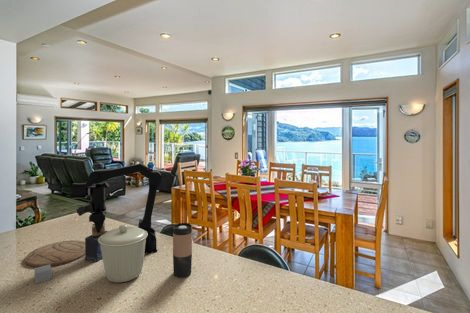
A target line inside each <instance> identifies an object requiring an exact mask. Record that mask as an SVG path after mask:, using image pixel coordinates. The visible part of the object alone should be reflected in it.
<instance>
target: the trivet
mask: <svg viewBox="0 0 470 313" xmlns="http://www.w3.org/2000/svg"><path fill="white" fill-rule="evenodd" d="M84 257H85V241H84V240H77V239H75V240H74V239H73V240H63V241H58V242H52V243H48V244H46V245H43V246H40V247H38V248H35V249H33V250H31V251H30V252H28V253H27V255H26V256H25V258H24V259H25V264H26V266H29V267H31V268H38V267H42V266H46V265H49V264H50V266H51V268H53V267H59V266H63V265H67V264H70V263H72V262H75V261H78V260H80V259H81V258H84Z"/></svg>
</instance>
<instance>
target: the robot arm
mask: <svg viewBox="0 0 470 313" xmlns="http://www.w3.org/2000/svg"><path fill="white" fill-rule="evenodd" d="M137 173H139V174H141V175H142V176H143V177H145V178H147V179H148V192H147V197H146V198H147V199H146V203H145V208H144V213H143V216H142V218H139V220H138V225H137V228H141V229H143V230H145V231H147V233H148V236H147V237H146V243H145V253H144V255H145V254H150V253H156V252H158V249H157V236H156V235H157V234H156V230H155V229H154V228H153V227H152V218H153V217H152V216H153V212H154V207H155V206H154V205H155V201H156V197H157V196H156V195H157V191H158V189H159V187H160V184H161V181H162V173H161V172H160V171H158V170H155V169H154V170H153V169H152V168H150V167H148V166H146V165H145V164H144V163H141V162H138V163H137V164H132V165H131V164H130V165H126V166H122V167H116V168H112V169H111V168H109V169H108V168H102V169H101V168H100V169H96V170H94V171H92V172H91V173H89V176H88V180H87V181H86V182H84V183H80V182H79V183H77V182H74V183H72V184H71V190H70V192H69V193H70V198H71V199H74V200H75V199H87V198H88V196H89V197H90V200H89V202H88V203H85V204H82V205H79V206H78V207H77V208H76V209H75V210H76V214H77V215H78V216H79V217H80V216H83V215H84V214H87V213H91V214H89V216H88V217H89V218H88V222H89V223H93V224H95V227H96V230H97V233H99V232H100V231H101V228H102V226H103V223H105V220H106V217H107V216H106V215H107V205H106V192H105V190H106V189H107V188H109V187H110V184H108V183H107V182H106V181H108V180H111V179H113V178H118V177H121V176H126V175H133V174H137ZM94 184H95V185H94Z"/></svg>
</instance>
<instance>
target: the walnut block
mask: <svg viewBox="0 0 470 313" xmlns="http://www.w3.org/2000/svg"><path fill="white" fill-rule="evenodd" d="M105 231H106V224H105V222H104V223H103V226H102V228H101V231H100V232H99V233H97V230H96V227H95V224H94V223H92V225H91V235H92V236H97V235H103V234H105Z"/></svg>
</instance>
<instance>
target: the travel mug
mask: <svg viewBox="0 0 470 313" xmlns="http://www.w3.org/2000/svg"><path fill="white" fill-rule="evenodd" d="M192 227H193V226H192V224H191V223H187V222H180V223H176V224H174V225H173V226H172V240H173V241H172V259H173V260H172V262H173V263H172V266H173V267H172V268H173V276H174V277H175V278H178V279H181V278H187V277H189V276H191V274H192V265H193V263H192V260H193V257H192V256H193V230H192V229H193V228H192Z"/></svg>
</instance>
